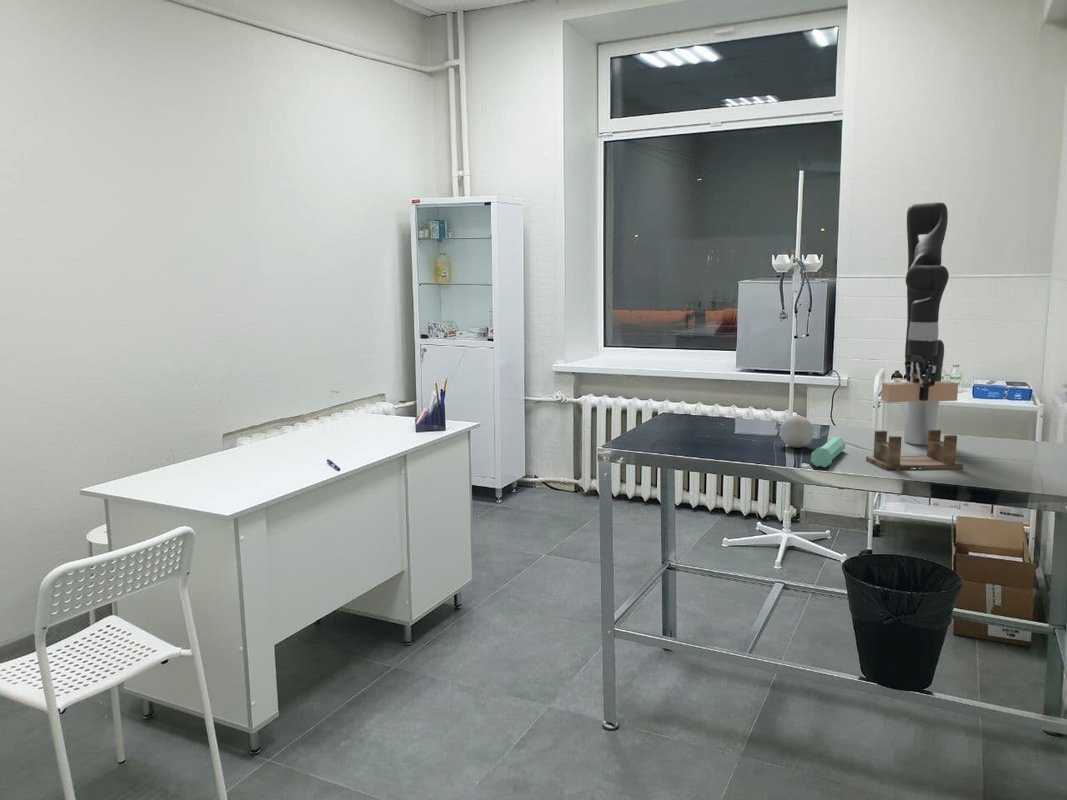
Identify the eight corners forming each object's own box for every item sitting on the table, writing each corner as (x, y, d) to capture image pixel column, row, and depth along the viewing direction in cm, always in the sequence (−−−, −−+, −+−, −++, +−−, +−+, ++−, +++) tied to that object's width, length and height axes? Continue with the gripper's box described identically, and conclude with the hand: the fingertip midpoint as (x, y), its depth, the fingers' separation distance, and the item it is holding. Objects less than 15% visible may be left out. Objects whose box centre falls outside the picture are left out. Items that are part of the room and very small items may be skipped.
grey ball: (815, 451, 256) (816, 419, 254) (780, 449, 258) (781, 418, 256) (811, 444, 266) (812, 413, 264) (777, 443, 268) (779, 412, 266)
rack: (866, 460, 243) (867, 430, 242) (938, 459, 244) (941, 428, 243) (886, 470, 231) (888, 438, 230) (962, 468, 233) (965, 436, 231)
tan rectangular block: (881, 400, 236) (882, 382, 235) (948, 398, 238) (950, 381, 237) (888, 402, 232) (889, 384, 231) (957, 400, 234) (958, 383, 233)
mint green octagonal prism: (833, 431, 257) (816, 443, 236) (851, 439, 255) (835, 453, 233) (824, 447, 259) (806, 462, 237) (842, 456, 256) (826, 472, 235)
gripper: (897, 336, 239) (893, 395, 242) (924, 340, 225) (919, 403, 228) (922, 335, 239) (918, 395, 242) (950, 340, 225) (946, 403, 228)
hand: (919, 398), depth 235 cm, fingers closed on tan rectangular block, 4 cm apart
